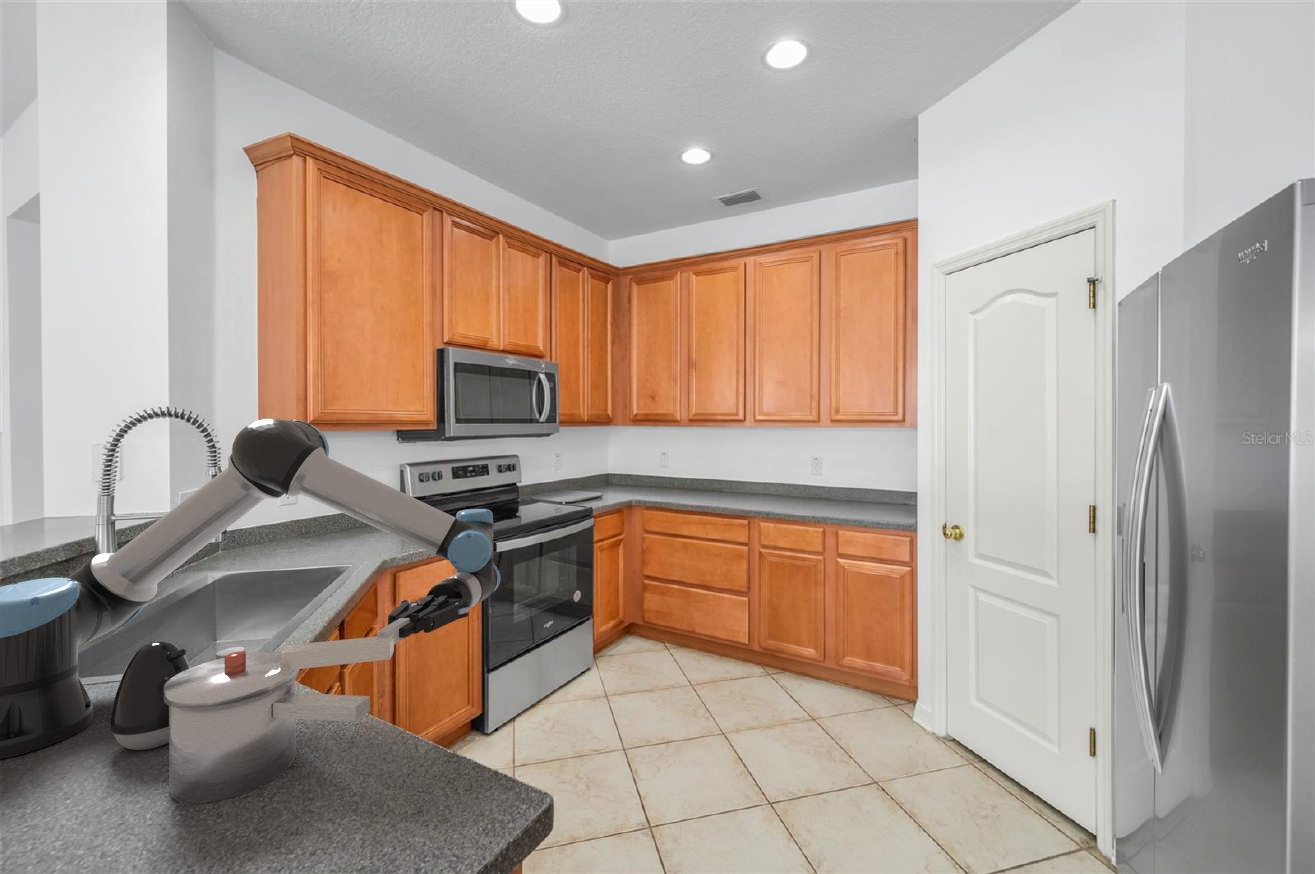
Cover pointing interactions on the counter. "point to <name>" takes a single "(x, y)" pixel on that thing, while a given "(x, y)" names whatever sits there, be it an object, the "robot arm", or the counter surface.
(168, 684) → the lid
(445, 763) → the counter surface
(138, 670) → the pump dispenser
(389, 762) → the counter surface
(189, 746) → the cooker pot
